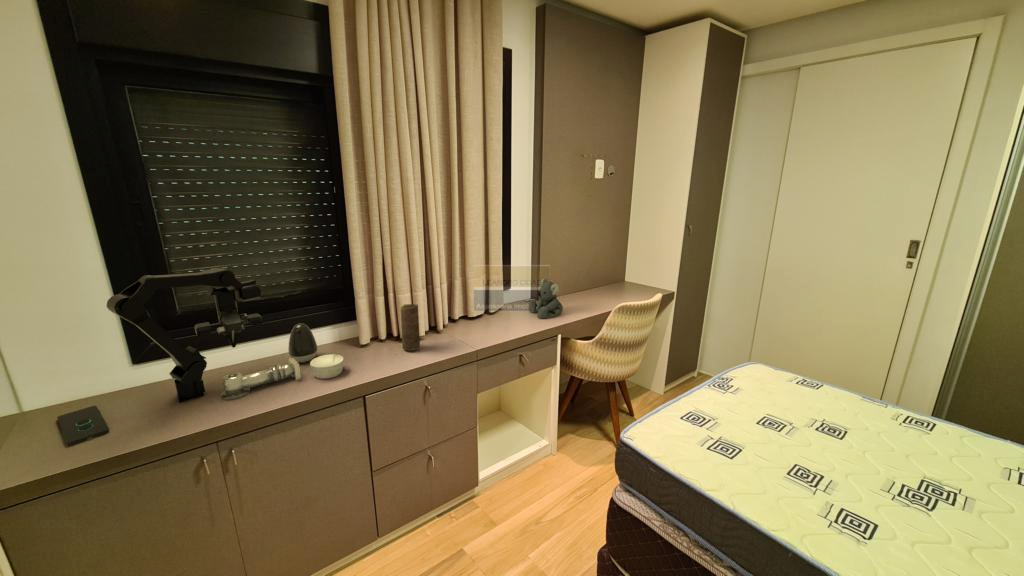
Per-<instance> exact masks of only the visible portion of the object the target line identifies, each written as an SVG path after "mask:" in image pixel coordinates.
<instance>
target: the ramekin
mask: <svg viewBox="0 0 1024 576" xmlns="http://www.w3.org/2000/svg"><path fill="white" fill-rule="evenodd" d="M344 361H345V359H344V356H342V355H339V354H333V353H332V354H331V353H330V354H324V355H320V356H317V357H314V358H313V359H311V360H310V361H309V365H310V368H311V370H312V373H313V376H314V377H315V378H318V379H320V380H321V379H322V380H324V379H332V378H334V377H337V376H339V375H340V374H341V373H342V371H343V367H344Z"/></svg>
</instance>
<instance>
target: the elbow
mask: <svg viewBox="0 0 1024 576" xmlns="http://www.w3.org/2000/svg"><path fill="white" fill-rule="evenodd" d="M222 380H223V386H224V391H225V392H226V395H236V394H239V393H241V392H243V391H244V390H245V389H246V388H250V389H251V388H252V387H256V386H259V385H263V384H267V383H270V382H273V383H274V382H275V383H276V382H278V381H280V379H279V374H278V370H277V365H273V366H270V367H269V368H268V369H264V370H260V371H256V372H253V373H252V372H251V373H248V374H245V375H243V373H242V372H233V373H229V374H226V375H224V376H223V377H222Z"/></svg>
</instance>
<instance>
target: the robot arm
mask: <svg viewBox="0 0 1024 576" xmlns="http://www.w3.org/2000/svg"><path fill="white" fill-rule="evenodd" d="M196 286H207V287H208V286H209V289H208V290H207V291H205V294H206V295H209V296H214V297H213V298H214V301H215V307H216V312H217V318H218V323H213V324H210V322H209V321H206V322H201V323H196V324H195V325H194V330H195V331H194V332H195V334H196V336H197V337H203V336H208V335H210V334H211V333H212V331H215V330H216V331H217V333H218V335H223V336H225V338H226V339H227V341H228V342H229V344H230V345H231V347H232V348H236V347H237V342H238V338H239V336H240V333H241V332H242V331H244V330H245V327H244V325H246V324H250V325H252V326H253V327H254V326H260V325H263V324H264V320H263V317H262V316H261V315H260V314H259V313H252V314H251V313H250V314H247V313H239V309H238V304H237V300H238V301H239V302H247V301H251V300H256V299H259V298H261V295H262V291H261V289H260V287H259V285H258V284H257V281H256V280H255V279H250V280H249V279H248V280H246V281H240V280H239V279H237V278H236V276H235V273H234V272H232V271H231V270H228V269H225V268H221V267H214V268H210V269H205V270H202V271H200V272H199V271H198V272H191V273H174V274H161V275H160V274H158V275H150V274H148V275H143V276H141V277H139V279H138V280H137V281H135V282H133V283H132V284H131V285H129V286H127V287H126V288H125V289H123V290H122V291H120V292H119V294H118V293H117V294H114V295H112V296H111V297H110V298H108V299H107V302H106V306H105V307H106V308H107V309H108V310H109V311H110V312H111V313H113V314H115V315H117V316H118V317H120V318H122V319H123V320H125V321H127V322H129V323H131V324H133V325H134V326H136V327H137V328H138V329H139V330H140V331H141V332H142V333H143V334H145V335H146V336H147V337H148V338H150V339H151V340H152V341H153V342H154V343H155V344H156V345H158V346H159V347H160V348H161V349H162V350H164V351H165V352H166V353H167V354H168V355H169V356H170V358H171V360H172V362H173V363H174V364H175V366H174V367H173V368H172V370H171V371H170V372H169V376H171V378H172V379H174V385H175V389H176V390H175V391H176V393H177V394H176V397H177V401H178V403H183V402H187V401H191V400H194V399H198V398H201V397H204V396H205V392H206V388H205V384H204V380H203V374H204V371H205V370H206V368H207V365H208V362H207V361H206V359H207V357H206V356H204V355H202V354H201V353H200V351H199V350H198V349H196V348H194V347H192V346H190V345H188V346H186V348H185V347H184V346H183V345H182V344H181V343H180V342H179V341H178V340H176V339H175V338H174V337H173V336H171V334H170V333H168V332H167V331H166V330H165V329H164V328H162V326H160V325H159V323H157V322H156V321H155V320H154V319H153V318H152V317H151V316H150V314H149V312H148V309H146V307H145V305H146V303H148V301H149V300H150V298H152V296H153V294H154V293H155V292H156V291H157V290H160V289H170V288H171V289H173V288H183V287H184V288H185V287H196ZM216 287H217V288H216ZM228 287H230V288H228Z"/></svg>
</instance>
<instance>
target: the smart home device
mask: <svg viewBox="0 0 1024 576" xmlns="http://www.w3.org/2000/svg"><path fill="white" fill-rule="evenodd" d="M56 419H57V424H58V426H59V430H60V431H61V433H62V436H63V438H64V441H65V444H66V446H67V447H73V446H75V445H78V444H81V443H84V442H87V441H90V440H93V439H95V438H99V437H101V436H104V435H107V434H109V433H110V427H109V426H108V425H107V422H106V420H105V419H104V417H103V415H102V412H101V411H100V410H99V408H98V407H97V405H92V406H88V407H85V408H82V409H78V410H74V411H70V412H67V413H64V414H61V415H58V416H57V417H56Z"/></svg>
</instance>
